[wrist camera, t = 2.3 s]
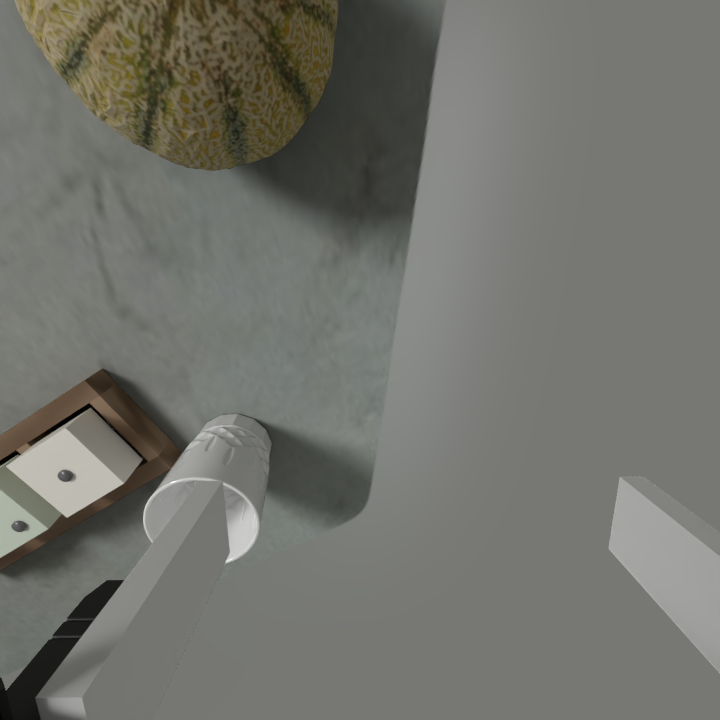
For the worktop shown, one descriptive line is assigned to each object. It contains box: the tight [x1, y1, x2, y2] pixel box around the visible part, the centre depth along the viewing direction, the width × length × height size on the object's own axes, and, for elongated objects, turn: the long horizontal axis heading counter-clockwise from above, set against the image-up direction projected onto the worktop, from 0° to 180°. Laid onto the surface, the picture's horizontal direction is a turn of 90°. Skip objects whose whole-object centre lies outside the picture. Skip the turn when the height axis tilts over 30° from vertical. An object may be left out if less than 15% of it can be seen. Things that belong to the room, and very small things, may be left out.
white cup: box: [143, 414, 272, 564], centre depth 32 cm, size 8×8×10 cm
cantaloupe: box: [15, 0, 339, 171], centre depth 19 cm, size 15×15×15 cm
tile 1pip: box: [6, 408, 143, 518], centre depth 31 cm, size 6×6×3 cm
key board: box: [0, 369, 181, 570], centre depth 35 cm, size 10×25×2 cm, turn 121°
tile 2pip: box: [0, 454, 62, 558], centre depth 32 cm, size 6×6×3 cm
